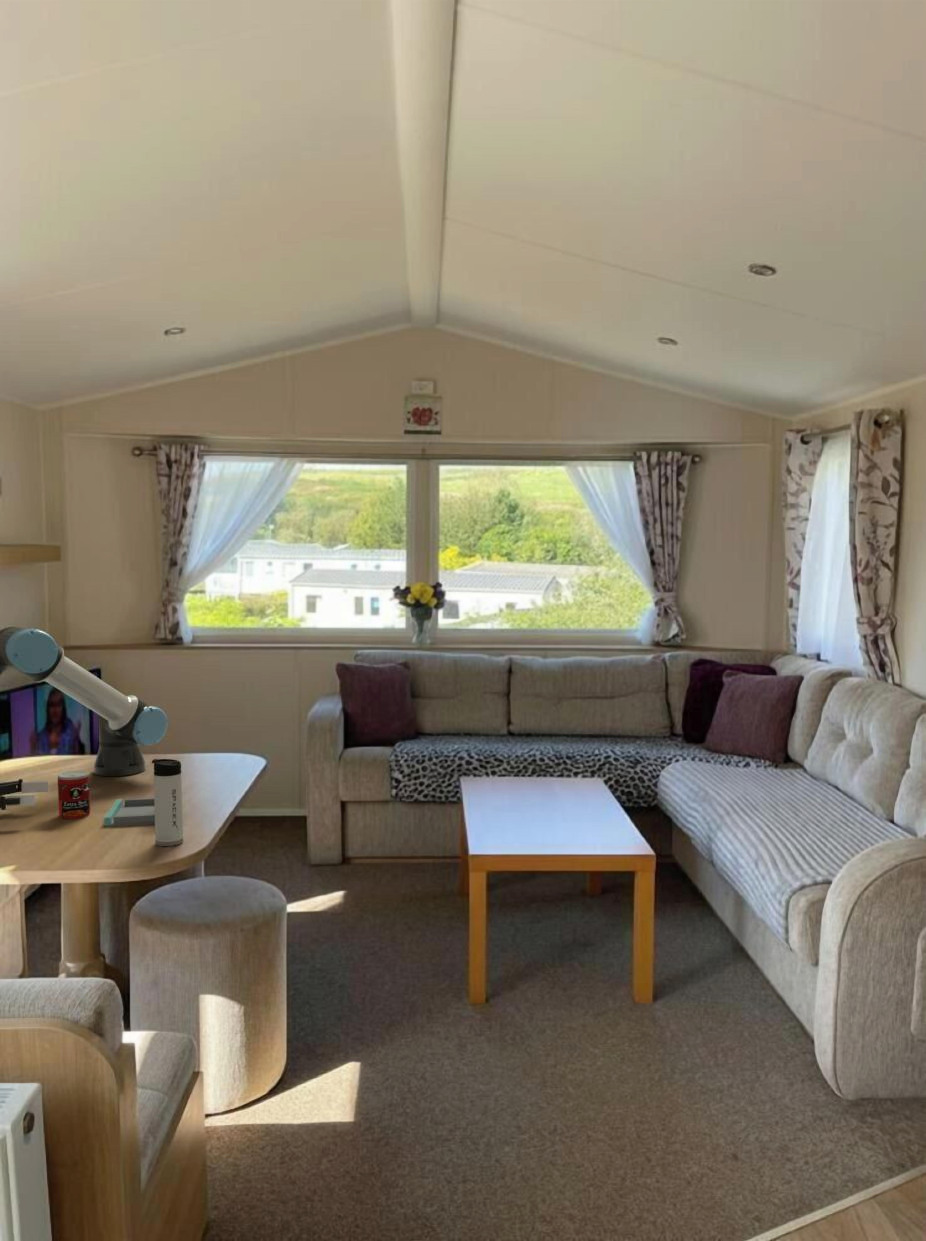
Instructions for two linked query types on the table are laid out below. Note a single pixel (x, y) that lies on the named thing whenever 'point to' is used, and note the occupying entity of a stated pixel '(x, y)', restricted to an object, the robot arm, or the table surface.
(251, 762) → the table surface
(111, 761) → the robot arm
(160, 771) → the travel mug
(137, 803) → the tray with upright backboard
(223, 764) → the table surface
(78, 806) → the canned food
